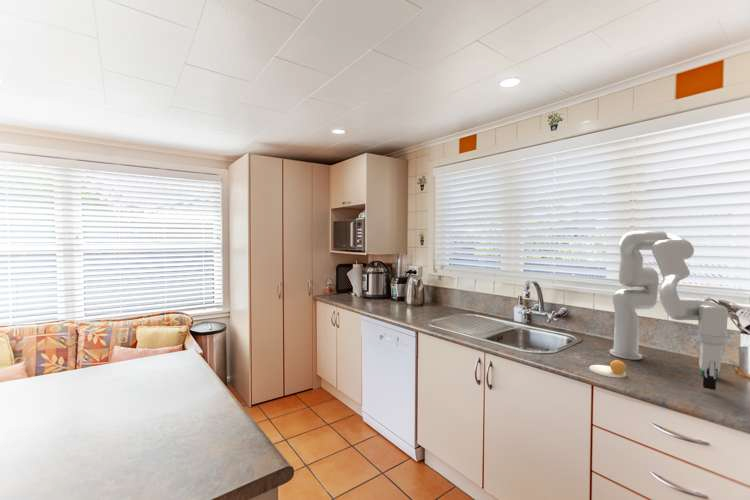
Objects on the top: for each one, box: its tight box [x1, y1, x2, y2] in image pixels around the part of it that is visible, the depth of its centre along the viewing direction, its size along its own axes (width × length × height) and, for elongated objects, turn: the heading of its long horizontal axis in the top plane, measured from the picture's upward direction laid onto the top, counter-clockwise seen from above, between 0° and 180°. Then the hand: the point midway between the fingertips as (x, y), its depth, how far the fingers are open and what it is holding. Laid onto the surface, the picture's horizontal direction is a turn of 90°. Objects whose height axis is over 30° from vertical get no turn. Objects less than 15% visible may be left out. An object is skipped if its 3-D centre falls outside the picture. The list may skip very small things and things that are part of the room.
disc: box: [588, 364, 627, 379], centre depth 145 cm, size 13×13×1 cm
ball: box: [609, 359, 627, 374], centre depth 143 cm, size 6×6×6 cm
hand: (709, 388), depth 126 cm, fingers closed
